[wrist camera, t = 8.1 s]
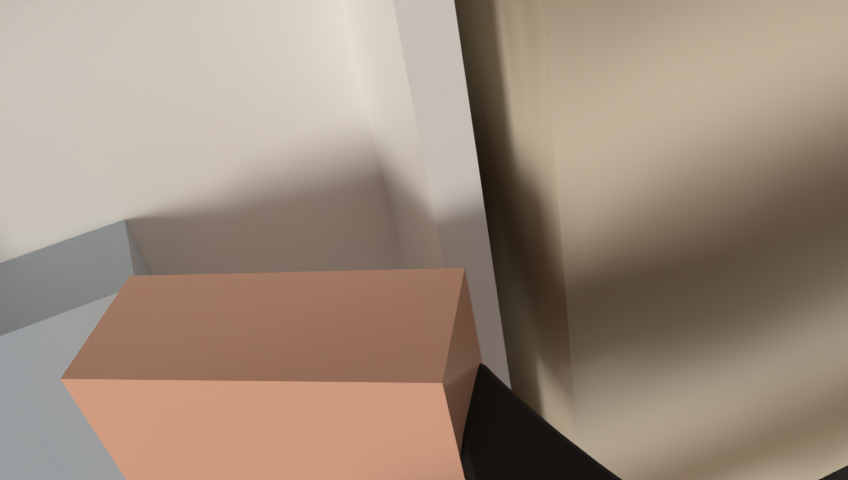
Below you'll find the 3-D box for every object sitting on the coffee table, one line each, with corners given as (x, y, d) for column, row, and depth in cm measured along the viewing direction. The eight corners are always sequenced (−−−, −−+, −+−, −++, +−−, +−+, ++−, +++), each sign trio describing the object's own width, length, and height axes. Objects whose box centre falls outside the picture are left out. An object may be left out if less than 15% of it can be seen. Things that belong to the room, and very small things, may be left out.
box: (475, 459, 21) (537, 570, 19) (54, 645, 19) (56, 802, 16) (335, -226, 12) (424, -202, 9) (-548, -8, 9) (-787, 111, 7)
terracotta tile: (506, 492, 14) (494, 607, 12) (236, 480, 15) (194, 583, 13) (464, 268, 11) (441, 383, 9) (130, 275, 12) (60, 379, 10)
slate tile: (-39, 609, 14) (-31, 518, 15) (240, 487, 15) (221, 413, 16) (-232, 421, 11) (-198, 331, 12) (135, 285, 12) (124, 218, 13)
